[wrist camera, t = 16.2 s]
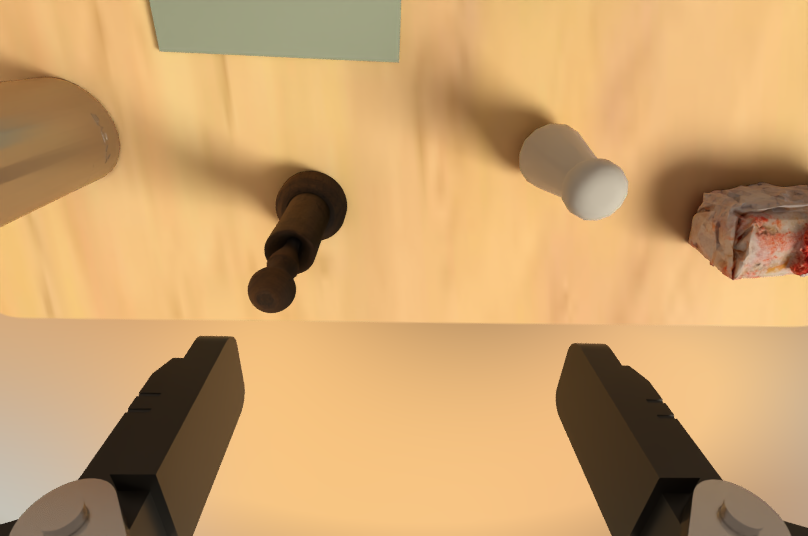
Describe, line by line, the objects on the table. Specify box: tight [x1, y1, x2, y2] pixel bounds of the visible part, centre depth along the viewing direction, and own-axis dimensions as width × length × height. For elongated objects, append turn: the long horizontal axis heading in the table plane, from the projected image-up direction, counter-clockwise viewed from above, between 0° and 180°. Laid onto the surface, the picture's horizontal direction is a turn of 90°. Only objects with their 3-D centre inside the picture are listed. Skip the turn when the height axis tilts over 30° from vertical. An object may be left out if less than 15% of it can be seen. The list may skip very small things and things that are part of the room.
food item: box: [688, 182, 808, 280], centre depth 40 cm, size 14×8×10 cm, turn 97°
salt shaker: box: [519, 124, 628, 220], centre depth 35 cm, size 6×6×13 cm
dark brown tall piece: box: [248, 171, 347, 313], centre depth 35 cm, size 7×6×18 cm
